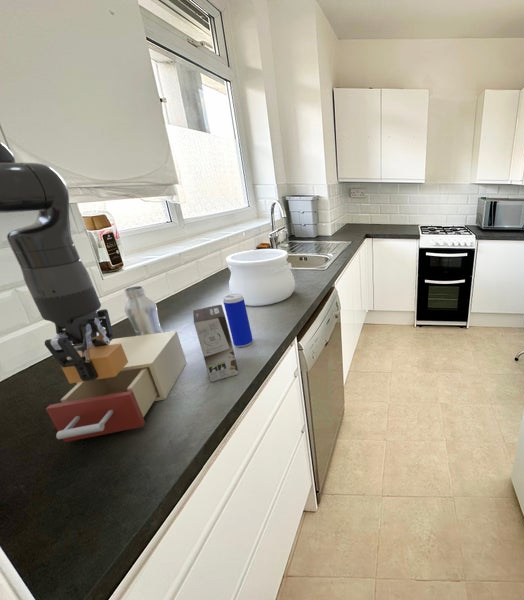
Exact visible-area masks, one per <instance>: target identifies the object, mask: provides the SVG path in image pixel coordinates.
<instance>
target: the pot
mask: <svg viewBox="0 0 524 600" xmlns="http://www.w3.org/2000/svg"><path fill="white" fill-rule="evenodd" d="M288 258H289V253H288V251H287V250H284V249H279V248H260V249H259V248H258V249H251V250H244V251H240V252H236V253H233V254H232V253H231V254H230V255H228V256H226V258H225V261H226V262H225V263H226V264H227V267H228V270H229V272H230V276H229V281H228V290H229V294H242V296H243V298H244V301H245V306H251V307H253V306H254V307H257V306H258V307H261V306H268V305H272V304H275V303H279V302H280V303H281V302H282V301H284V300H287V299H288V298H290V297H291V296H292V294H293V293H294V291H295V288H296V282H295V277H294V274H293V273H292V271H291V270H292V269H293V267H292V263H291V262H288V260H287V259H288Z"/></svg>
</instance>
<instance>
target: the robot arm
mask: <svg viewBox="0 0 524 600" xmlns="http://www.w3.org/2000/svg"><path fill="white" fill-rule="evenodd" d="M33 211H37V215H36V219H35V220H34V222H33V223H31V224H28V225H25V226H22V227H18V228H15V229H12V230H10V231H9V232H8V233H7V234H6V239H7V243H8V245H9V247H10V250H11V251H12V254H13V256H14V257H15V260H16V262H17V263H18V265H19V267H20V271H21V273H22V277H23V280H24V284H25V285H26V287H27V290H28V291H29V293H30V295H31V297H32V300H33V302H34V304H35V306H36V307H37V310H38V312H39V314H40V316H41V318H42V319H43V320H45V321H48V322H51V323H53V324H54V326H55V333H56V335H55V336H54V338H50V339H49V338H48V339H46V340H44V346H45V347H46V348H47V350H48V352H50V353H51V355H52V356H53V358H55V360H56V361H57V362H58V364H59V365H60V367H61V366H62V367H71V366H75V368H76V370H77V372H78V374H79V376H80V378H81V379H82V380H83V381H90V380H95V379H96V378H97V377H98V374H97V372H96V369H95V367H94V365H93V363H92V361H91V357H90V351H89V350H90V349H91V348H92V347H98V346H105V345H109V344H110V341H111V340H110V339H114V332H113V327H112V323H111V319H110V318H111V317H110V314H109V310H108V309H107V308H103V309H101V307H102V303H101V301H100V298H99V297H98V296H99V295H98V293H97V290H96V288H95V286H94V284H93V282H92V279H91V276H90V274H89V271H88V269H87V268H86V266H85V265H84V263H83V261H82V259H81V256H80V254H79V252H78V249H77V247H76V244H75V242H74V240H73V237H72V230H71V219H70V193H69V189H68V185H67V183H66V182H65V179H64V178H63V177H62V176H61V175H60V174H59V173H58V172H57V171H56V170H54V169H53V168H52V167H51V166H48V165H46V164H44V163H38V162H16V158H15V155H14V154H13V152H12V151H11V150H10V149H9V148H8V146H6V145H5V144H4V143H3V142H2V141H0V214H8V213H9V214H11V213H22V212H33ZM80 344H82V345H80ZM74 345H77V346H74ZM78 345H79V346H78ZM77 351H81V352H82V357H81V356H80V355H79V353H78V352H77ZM67 357H69V360H68V359H67ZM62 367H61V368H62Z"/></svg>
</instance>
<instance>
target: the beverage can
mask: <svg viewBox="0 0 524 600" xmlns="http://www.w3.org/2000/svg"><path fill="white" fill-rule="evenodd" d="M222 301H223V306H224V310H225V314H226V315H225V316H226V320H227V324H228V328H229V332H230V336H231V340H232V344H233V345H234V346H235V347H237V348H244V347H247V346H250V345H251V344H252V343H253V341H254V338H253V334H252V330H251V329H252V328H251V325H250V320H249V315H248V311H247V307H246V306H247V305H245V301H244V298H243V296H242V294H231V293H229V294H227V295H225V296H224V297H223V300H222Z"/></svg>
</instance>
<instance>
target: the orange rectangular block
mask: <svg viewBox="0 0 524 600" xmlns="http://www.w3.org/2000/svg"><path fill="white" fill-rule="evenodd" d="M89 351H90V357H91V361H92V363H93V365H94V367H95V369H96V372H97V374H98V377H97V378H96V379H95V380H97V379H103V378H109V377H115V376H116V375H117V374H118V373H119V372H120V371H121V370H122V369H123V367H124V366H125V365H126V364H127V363H128V360H127V358H126V355H125V353H124V350H123V347H122V345H121V343H120V344H113V345H105V346H98V347H93V346H92V348H91V349H90V350H89ZM77 352H78V353H79V355H80V356H81V357H82V352H81V351H77ZM66 358H67V359H68V360H69V357H66ZM60 367H61V369H62V371H63V373H64V375H65V377H66V379H67V382H68V383H69V384H70V385H71V384H77V383H78V382H84V381H83V380H82V379H81V378H80V376H79V374H78V372H77V370H76V368H75V366H71V367H62V366H61V365H60Z"/></svg>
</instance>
